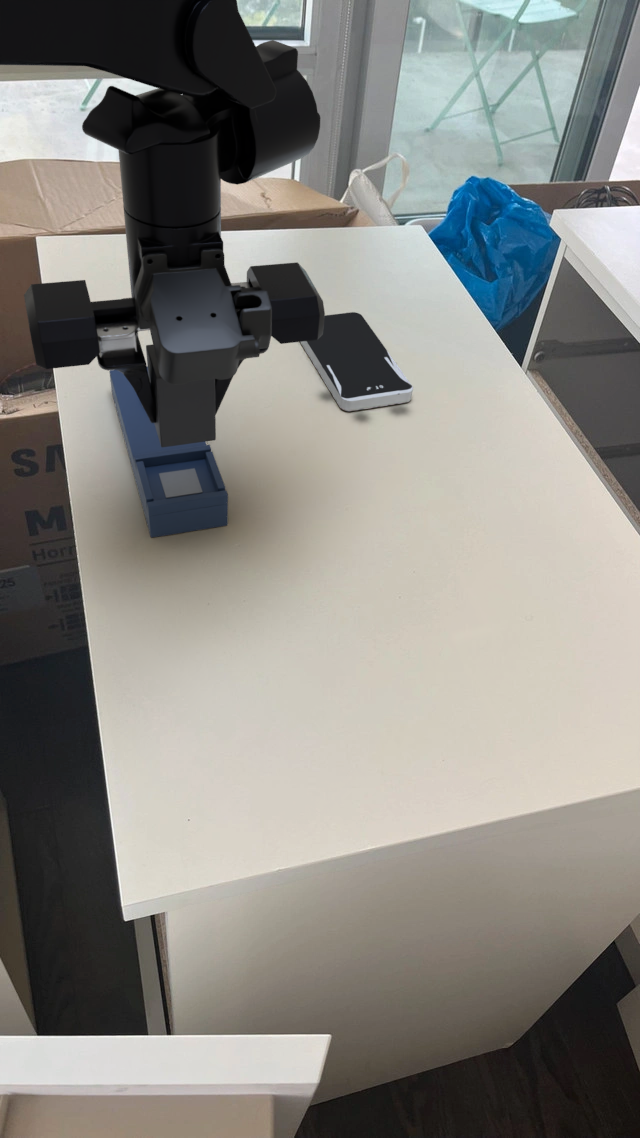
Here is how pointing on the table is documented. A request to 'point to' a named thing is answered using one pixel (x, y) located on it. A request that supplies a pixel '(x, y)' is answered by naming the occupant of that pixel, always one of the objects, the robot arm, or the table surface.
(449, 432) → the table surface
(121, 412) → the blue long open box
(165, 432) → the block
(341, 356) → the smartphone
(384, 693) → the table surface
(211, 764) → the table surface
